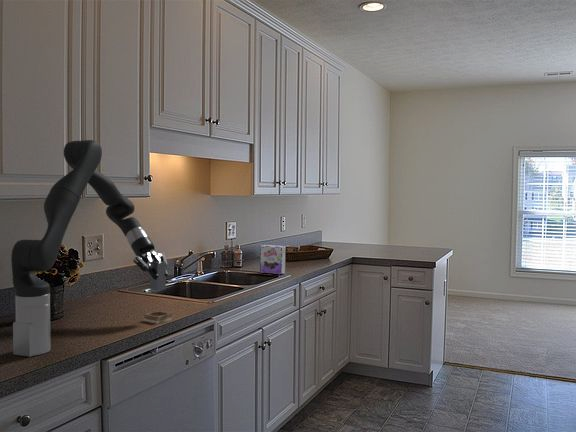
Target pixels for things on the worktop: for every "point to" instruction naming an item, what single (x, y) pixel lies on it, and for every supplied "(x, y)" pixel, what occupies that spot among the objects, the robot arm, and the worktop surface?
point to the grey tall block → (161, 280)
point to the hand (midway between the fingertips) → (161, 277)
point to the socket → (157, 317)
